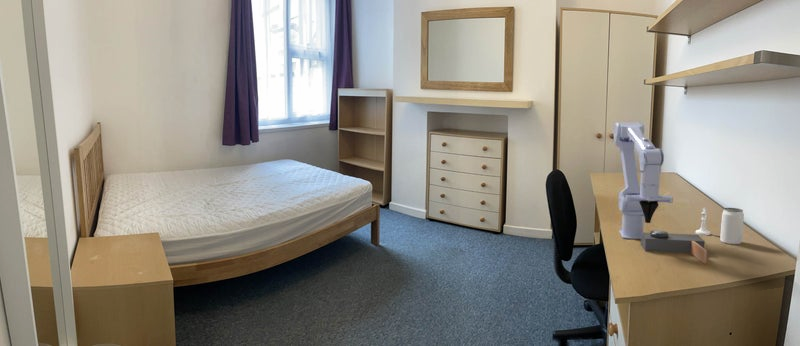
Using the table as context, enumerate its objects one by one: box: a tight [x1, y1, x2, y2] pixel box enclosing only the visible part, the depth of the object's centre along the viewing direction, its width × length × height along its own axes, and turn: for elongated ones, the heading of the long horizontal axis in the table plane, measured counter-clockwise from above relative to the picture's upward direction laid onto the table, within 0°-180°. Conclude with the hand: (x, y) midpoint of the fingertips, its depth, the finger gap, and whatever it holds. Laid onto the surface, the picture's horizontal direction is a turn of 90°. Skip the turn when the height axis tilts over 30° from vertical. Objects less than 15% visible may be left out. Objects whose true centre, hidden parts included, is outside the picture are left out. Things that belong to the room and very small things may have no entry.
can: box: [719, 207, 745, 246], centre depth 177 cm, size 6×6×12 cm
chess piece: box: [695, 207, 711, 236], centre depth 188 cm, size 5×5×10 cm
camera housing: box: [640, 230, 706, 254], centre depth 172 cm, size 8×18×6 cm, turn 75°
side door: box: [690, 241, 709, 264], centre depth 162 cm, size 1×10×4 cm, turn 170°
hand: (647, 222), depth 173 cm, fingers closed
